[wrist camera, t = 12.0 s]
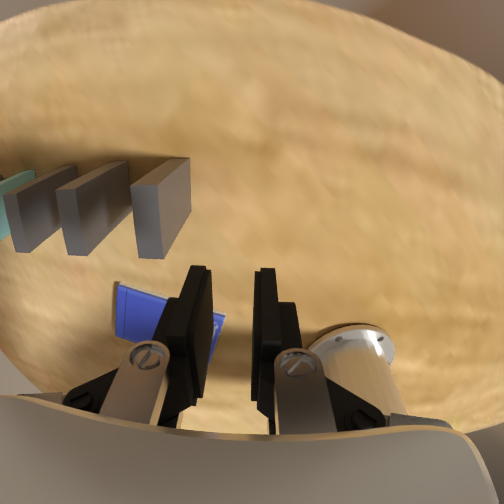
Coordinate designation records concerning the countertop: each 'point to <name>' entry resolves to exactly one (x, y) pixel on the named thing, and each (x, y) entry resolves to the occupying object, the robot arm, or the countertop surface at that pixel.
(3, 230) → the tile
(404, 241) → the countertop surface
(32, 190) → the tile
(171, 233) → the tile
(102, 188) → the tile
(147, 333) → the hard drive
